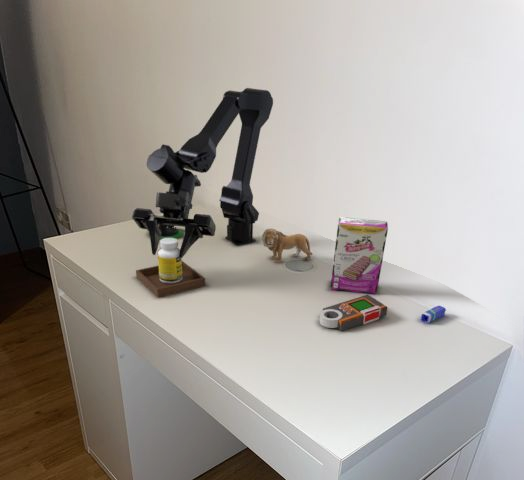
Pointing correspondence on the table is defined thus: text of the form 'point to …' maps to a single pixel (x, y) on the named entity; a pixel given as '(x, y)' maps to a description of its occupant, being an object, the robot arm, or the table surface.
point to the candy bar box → (358, 254)
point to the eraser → (433, 314)
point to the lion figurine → (285, 243)
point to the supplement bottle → (169, 261)
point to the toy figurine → (169, 232)
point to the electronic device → (352, 313)
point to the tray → (160, 289)
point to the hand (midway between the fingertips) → (166, 255)
